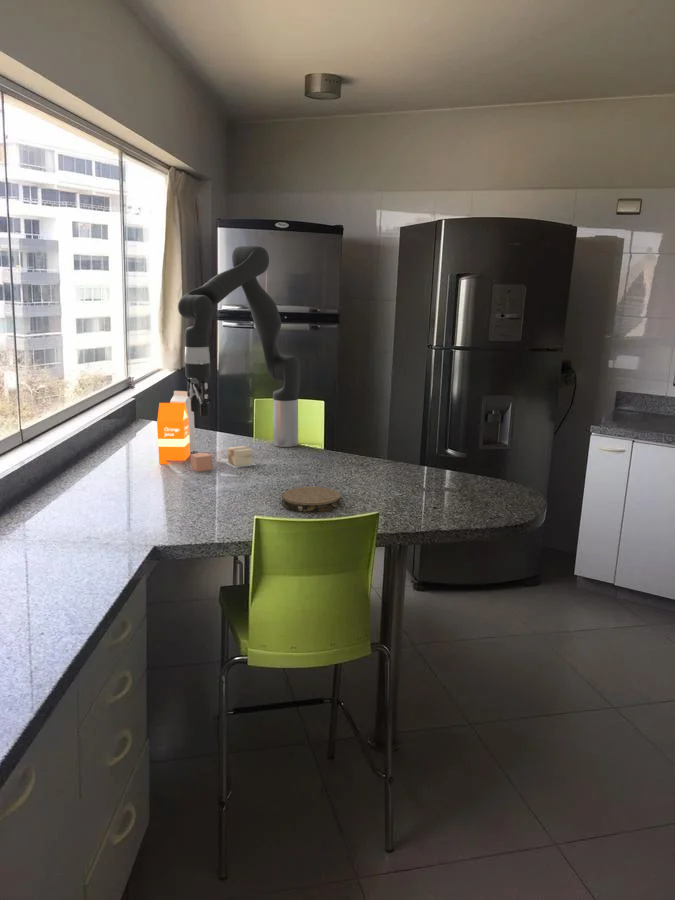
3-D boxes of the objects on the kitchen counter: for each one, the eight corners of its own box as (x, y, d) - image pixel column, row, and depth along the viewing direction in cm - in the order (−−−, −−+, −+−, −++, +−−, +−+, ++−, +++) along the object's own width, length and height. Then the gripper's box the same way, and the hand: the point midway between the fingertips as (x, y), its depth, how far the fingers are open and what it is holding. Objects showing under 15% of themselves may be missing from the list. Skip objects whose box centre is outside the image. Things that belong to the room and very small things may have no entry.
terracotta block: (191, 472, 228) (190, 454, 227) (206, 470, 231) (205, 452, 229) (196, 476, 224) (196, 457, 223) (212, 473, 226) (211, 455, 225)
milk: (180, 450, 258) (177, 389, 253) (195, 451, 257) (193, 390, 252) (172, 453, 253) (169, 391, 248) (187, 454, 251) (184, 392, 246)
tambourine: (352, 505, 196) (352, 495, 195) (308, 518, 185) (308, 507, 184) (313, 493, 207) (313, 483, 206) (270, 504, 196) (270, 494, 196)
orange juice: (185, 464, 238) (182, 405, 233) (158, 464, 238) (155, 404, 234) (190, 458, 246) (187, 401, 241) (164, 458, 246) (161, 400, 241)
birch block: (228, 462, 235) (227, 447, 234) (245, 460, 238) (244, 445, 237) (235, 466, 230) (234, 451, 229) (252, 464, 233) (252, 449, 232)
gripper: (178, 360, 223) (180, 411, 227) (193, 364, 211) (195, 418, 215) (201, 358, 227) (202, 409, 231) (217, 363, 215) (219, 416, 219)
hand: (199, 413), depth 223 cm, fingers open, 8 cm apart
